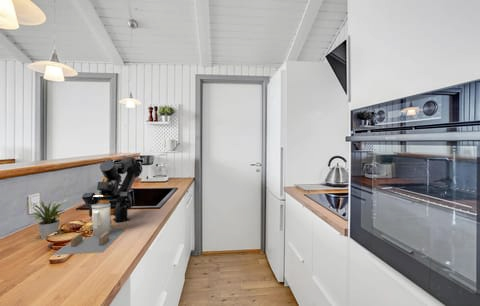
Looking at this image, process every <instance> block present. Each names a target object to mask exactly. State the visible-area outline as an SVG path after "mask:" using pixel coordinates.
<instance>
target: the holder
mask: <svg viewBox="0 0 480 306" xmlns="http://www.w3.org/2000/svg"><path fill="white" fill-rule="evenodd" d="M126 230H127V228H111V233H110V234H109V232H105V233H104V234H102V235H101V236H100V237H95V236H91V237H86V238H84V239H83V236H82V234H83V232H79V233H77V234H76V235H74V236H73V237H71V238H70V242H71V243H70V242H68V243H67V244H65V245H64V246H62V247H61V248H59V249H58V250H57V251H55V252H54V253H52V254H51V256H56V255H57V256H59V255H60V256H62V255H79V254H80V255H81V254H101V253H104V252H105V251H106V250H107V249H108V248H109V247H110V246H111V245H113V244H114V242H115V241H116V240H117V239H118V238H119V237H120V236H121V235H122V234H123V233H124V232H125V231H126Z"/></svg>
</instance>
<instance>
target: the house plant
mask: <svg viewBox="0 0 480 306" xmlns="http://www.w3.org/2000/svg"><path fill="white" fill-rule="evenodd" d="M50 199H52V197H51V198H50ZM67 200H68V199H65V200H63V201H62V202H59V203H58V204H56V203H57V202H56V200H55V199H53V200H52V202H53V205H52V208H51V209H50V207H51V204H52V202H51V200H49V202H48V205H45V203H44V202H43V201H42V200H41V199H40V200H39V204H40V205H41V207H42V208H43V209H42V208H41V207H39V206H38V205H37V203H34V202H32V205H29V206H33V207H32V209H33V210H35V211H36V213H33V217H35V218H34V221H36V220H40V222H38V223H37V226H38V230H39V231H38V232H39V234H40V238H41V240H45V239H46V238H48V237H49V236H48V235H50V234H52V233H54V232H57V231H58V232H59V227H60V222H61V221H60V216H61V214H63V213H65V209H64V210H63V209H62V210H58V209H59V207H61V205H63V204H64V202H66V201H67ZM27 203H29V204H31V202H29V201H28V202H27ZM35 207H36V208H35ZM37 209H38V210H37ZM39 211H40V212H41V213H40V212H39ZM37 212H38V213H37ZM58 213H59V214H58ZM42 214H43V215H42ZM29 217H30V218H31V217H32V216H31V215H30V216H29ZM47 236H48V237H47Z"/></svg>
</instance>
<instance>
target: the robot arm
mask: <svg viewBox="0 0 480 306" xmlns="http://www.w3.org/2000/svg"><path fill="white" fill-rule="evenodd" d="M99 169H100V172H101V173H102V175H103V178H104V177H105V178H107V180H106V182H101V181H98V182H97V188H96V190H97V191H99V192H98V194H99V193H100V194H102V195H101V196H99V195H96V194H95V192H84V193H83V194H82V196H81V199H82V201H83V202H84V203H85V205H87V206H88V213H89V214H88V215H89V217H90V218H92V205H94V204H98V201H99V200H109V203H110V204H111V206H110V208H111V209H115V210H114V213H113V217H114V218H113V219H112V220H113V221H114V222H115V223H120V222H121V223H122V222H127V221H130V220H131V218H130V217H129V215H128V214H129V213H128V212H129V211H128V210H129V209H131V208H132V207H133V206H132V205H133V197H132V195H131V193H130V191H131V188H132V186H133V184H134V181H135V180H136V178H139V176H141V174H142V173H143V166H142V163H140V161H138V160H137V158H135V157H124V158H123V159H122V160H120V161H118V162H117V161H113V159H111V158H107V161H105V160H104V161H103V162H101V164H100V165H99ZM125 174H126V175H125ZM122 175H125V176H124V179H123V181H122ZM120 184H121V185H120ZM119 186H120V187H119Z"/></svg>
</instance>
